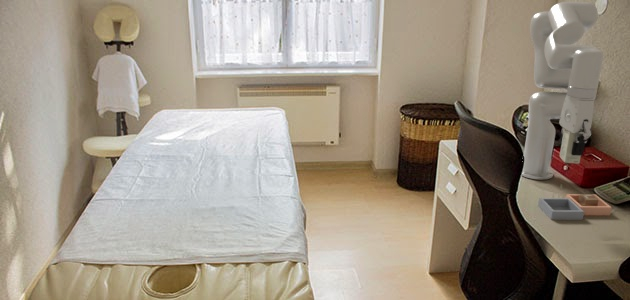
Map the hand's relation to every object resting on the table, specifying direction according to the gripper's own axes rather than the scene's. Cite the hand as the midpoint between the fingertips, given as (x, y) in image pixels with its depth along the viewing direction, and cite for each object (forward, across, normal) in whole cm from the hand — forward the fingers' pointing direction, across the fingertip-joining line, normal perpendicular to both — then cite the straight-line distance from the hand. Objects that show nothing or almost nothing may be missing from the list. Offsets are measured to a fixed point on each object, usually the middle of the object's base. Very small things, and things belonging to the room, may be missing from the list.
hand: (570, 150), depth 150 cm
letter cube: (+21, -3, +10) cm, 23 cm away
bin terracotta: (+22, -3, +10) cm, 24 cm away
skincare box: (+3, 0, 0) cm, 3 cm away
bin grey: (+22, 0, 0) cm, 22 cm away
